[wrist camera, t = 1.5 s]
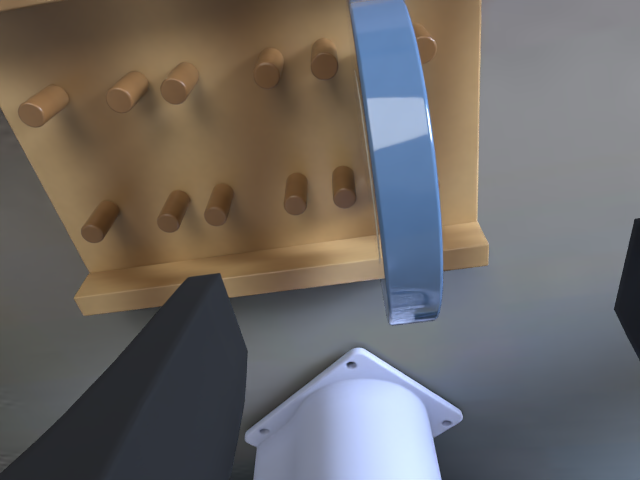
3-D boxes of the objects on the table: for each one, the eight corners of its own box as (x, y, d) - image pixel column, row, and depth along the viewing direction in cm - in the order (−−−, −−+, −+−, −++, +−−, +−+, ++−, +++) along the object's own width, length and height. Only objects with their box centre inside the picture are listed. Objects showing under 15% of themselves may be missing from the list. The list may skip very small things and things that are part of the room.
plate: (369, 217, 19) (397, 397, 12) (339, -24, 14) (357, 45, 8) (401, 213, 19) (448, 392, 12) (382, -32, 14) (439, 31, 7)
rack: (104, 279, 22) (81, 320, 20) (-53, -22, 15) (-114, -10, 13) (472, 230, 20) (490, 269, 18) (476, -127, 14) (505, -132, 12)
